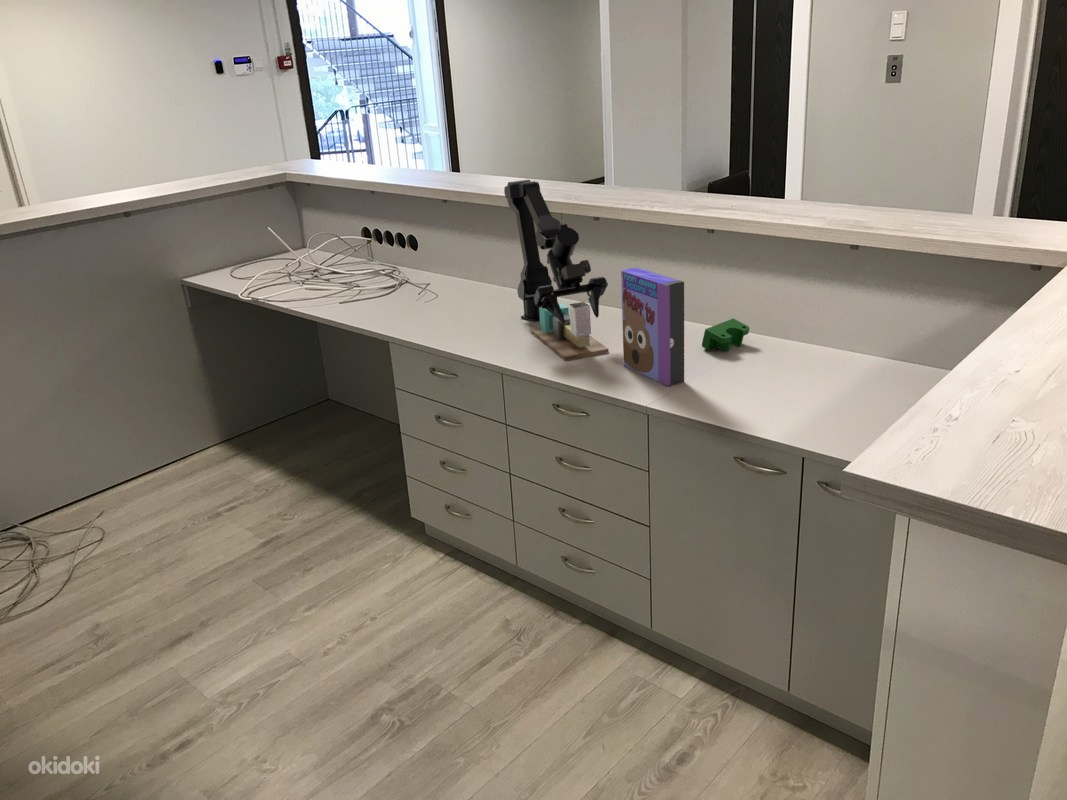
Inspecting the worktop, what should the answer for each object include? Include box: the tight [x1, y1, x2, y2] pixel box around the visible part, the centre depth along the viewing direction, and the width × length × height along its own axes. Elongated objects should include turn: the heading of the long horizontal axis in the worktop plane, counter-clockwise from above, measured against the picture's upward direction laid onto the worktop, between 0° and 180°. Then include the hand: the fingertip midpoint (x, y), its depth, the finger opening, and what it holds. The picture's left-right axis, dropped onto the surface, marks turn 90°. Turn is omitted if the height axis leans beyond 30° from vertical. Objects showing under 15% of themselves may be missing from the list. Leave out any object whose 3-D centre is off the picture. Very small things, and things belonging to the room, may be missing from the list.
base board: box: [530, 327, 610, 362], centre depth 233 cm, size 26×12×1 cm, turn 20°
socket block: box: [539, 303, 570, 333], centre depth 240 cm, size 4×7×6 cm, turn 110°
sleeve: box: [553, 313, 570, 341], centre depth 233 cm, size 4×5×5 cm
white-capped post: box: [561, 301, 592, 348], centre depth 227 cm, size 16×4×10 cm, turn 20°
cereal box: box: [620, 267, 685, 388], centre depth 204 cm, size 17×5×24 cm, turn 29°
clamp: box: [701, 318, 751, 353], centre depth 221 cm, size 12×6×9 cm, turn 124°
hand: (580, 319), depth 221 cm, fingers open, 9 cm apart
